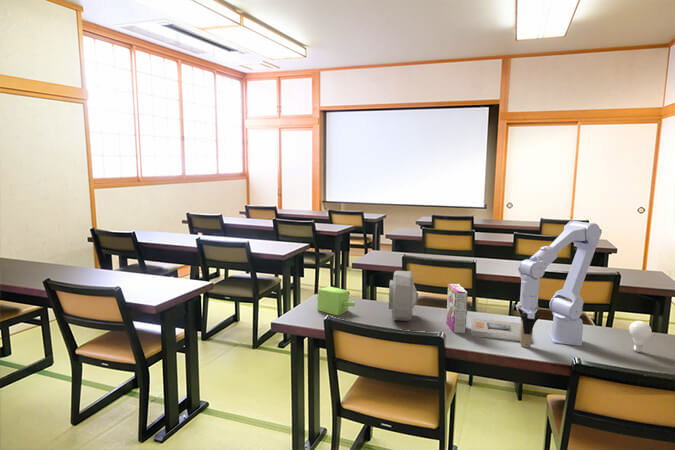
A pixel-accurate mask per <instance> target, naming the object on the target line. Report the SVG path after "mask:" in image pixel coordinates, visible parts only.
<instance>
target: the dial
mask: <svg viewBox="0 0 675 450" xmlns="http://www.w3.org/2000/svg"><path fill="white" fill-rule="evenodd" d="M418 300H419V292H417V288H416V286H415V284H414V273H413V272H412V271H410V270H409V271H408V270H407V271H406V270H395V271H394V272H393V279H389V288H388V310H391V318H392V320H395V321H404V322H410V321H411V320H412V319H413V318H412V317H413V316H412V315H413V309H414V307H415V305H416V303H417V301H418Z"/></svg>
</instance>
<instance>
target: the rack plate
mask: <svg viewBox="0 0 675 450" xmlns="http://www.w3.org/2000/svg"><path fill="white" fill-rule="evenodd" d="M470 326H471V327H470V329H471V336H472V337H480V338H488V339H496V340H504V341H513V342H514V341H515V342H521V341H520V330H521V322H520V323H519V322H512V321H511V322H510V321H504V320H503V321H502V320H494V319H485V318H473V317H471V318H470ZM496 329H497V330H496ZM498 329H499V330H498ZM507 330H508V331H507Z"/></svg>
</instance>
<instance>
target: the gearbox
mask: <svg viewBox="0 0 675 450" xmlns="http://www.w3.org/2000/svg"><path fill="white" fill-rule="evenodd" d="M349 297H350V291H349V290H348V289H342V288H338V287H333V286H326V287H322V288H319V289H318V294H317V295H316V300H317V311H319V312H323V313H326V314H330V315H335V316H340V315H342V314H344V313H346V312H348V311H349V307H355V304H356V302H355V301H353V300H350V299H349Z"/></svg>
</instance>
